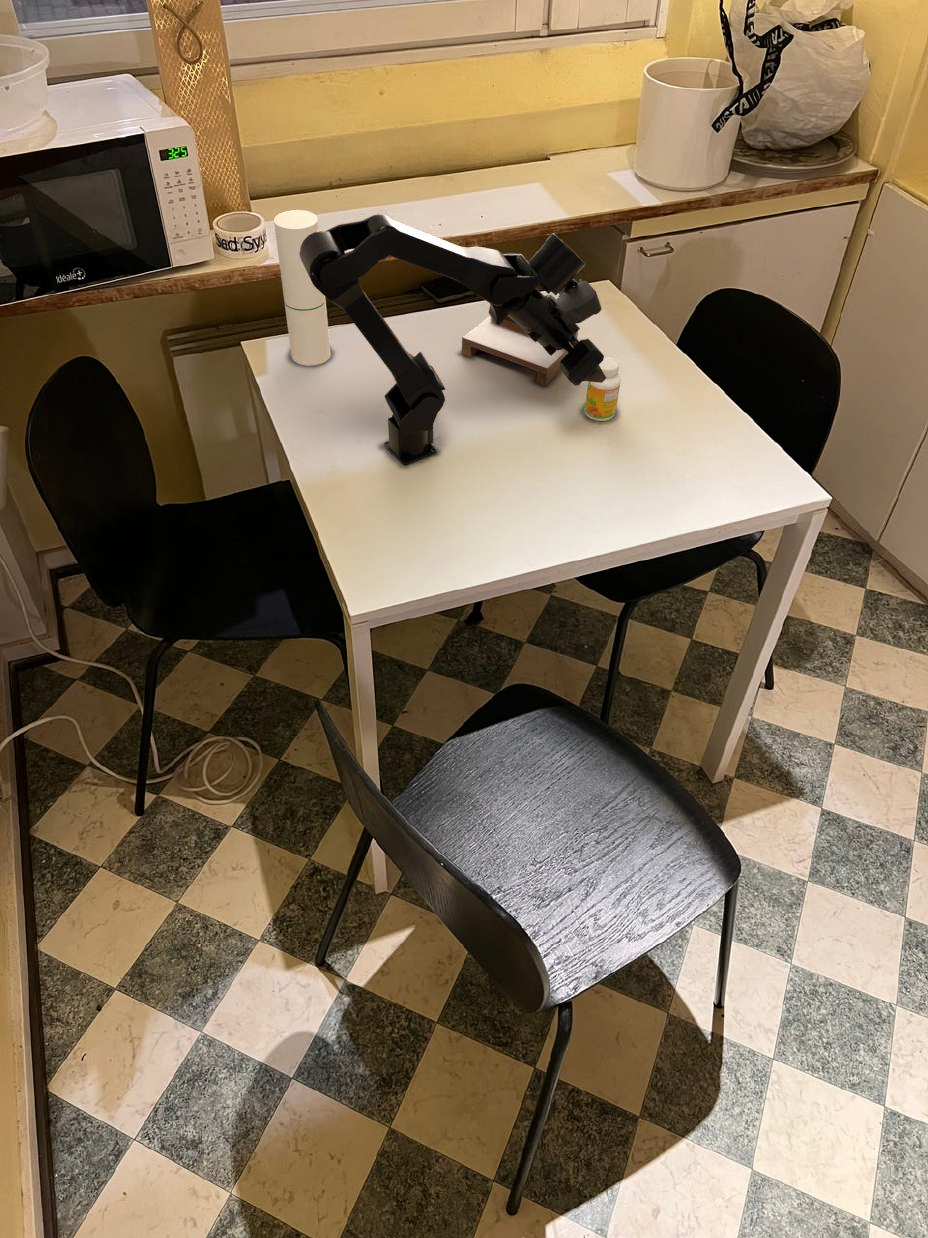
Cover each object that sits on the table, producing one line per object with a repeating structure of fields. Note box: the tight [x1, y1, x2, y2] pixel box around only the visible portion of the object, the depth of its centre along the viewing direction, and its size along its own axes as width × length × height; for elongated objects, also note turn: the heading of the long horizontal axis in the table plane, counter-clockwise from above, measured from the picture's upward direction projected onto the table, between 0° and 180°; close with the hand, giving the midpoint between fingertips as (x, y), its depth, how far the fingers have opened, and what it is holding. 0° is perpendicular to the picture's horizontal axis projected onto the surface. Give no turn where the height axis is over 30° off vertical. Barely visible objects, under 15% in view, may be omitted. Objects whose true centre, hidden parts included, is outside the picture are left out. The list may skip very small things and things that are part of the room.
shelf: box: [461, 315, 579, 386], centre depth 167 cm, size 11×18×6 cm, turn 57°
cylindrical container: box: [273, 209, 332, 367], centre depth 159 cm, size 7×7×25 cm
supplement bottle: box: [583, 356, 622, 422], centre depth 154 cm, size 5×5×10 cm
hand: (591, 364), depth 150 cm, fingers open, 9 cm apart
